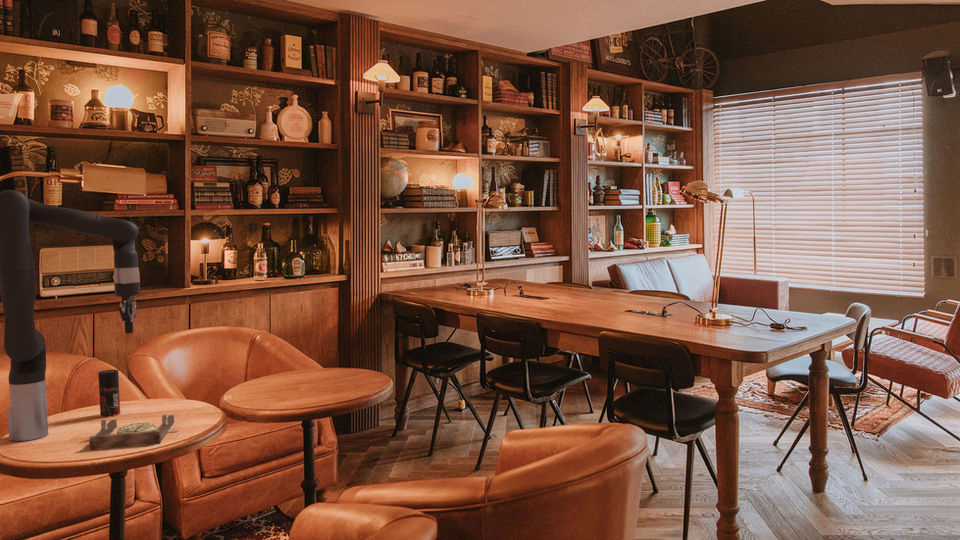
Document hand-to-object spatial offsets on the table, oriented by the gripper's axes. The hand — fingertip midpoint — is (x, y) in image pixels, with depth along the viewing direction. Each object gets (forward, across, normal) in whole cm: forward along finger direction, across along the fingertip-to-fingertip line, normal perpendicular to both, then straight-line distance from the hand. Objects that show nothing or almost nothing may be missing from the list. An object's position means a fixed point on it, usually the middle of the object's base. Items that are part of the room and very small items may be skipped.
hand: (129, 333), depth 218 cm
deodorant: (+29, -8, -9) cm, 32 cm away
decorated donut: (+29, +22, +6) cm, 37 cm away
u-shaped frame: (+29, +20, +5) cm, 35 cm away
